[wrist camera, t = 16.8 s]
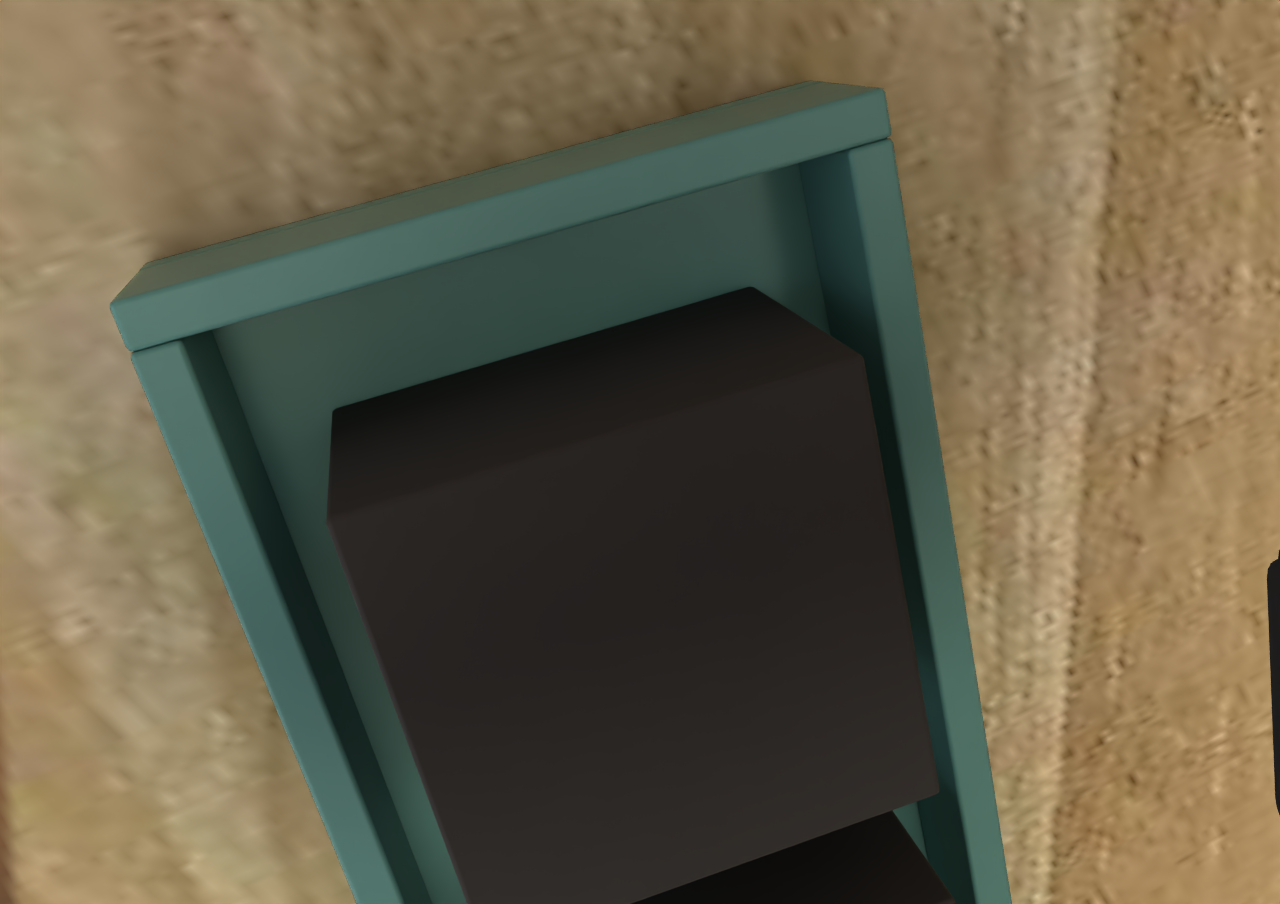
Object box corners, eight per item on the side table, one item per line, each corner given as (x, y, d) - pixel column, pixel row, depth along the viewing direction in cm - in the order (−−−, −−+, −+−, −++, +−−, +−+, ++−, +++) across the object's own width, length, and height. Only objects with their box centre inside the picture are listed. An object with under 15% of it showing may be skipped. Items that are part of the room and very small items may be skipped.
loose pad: (330, 409, 16) (323, 520, 12) (752, 283, 17) (864, 353, 13) (459, 772, 18) (486, 958, 15) (828, 647, 19) (943, 795, 15)
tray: (142, 263, 15) (106, 303, 13) (812, 79, 17) (887, 87, 14) (508, 1180, 22) (526, 1316, 19) (975, 1001, 23) (1045, 1109, 21)
